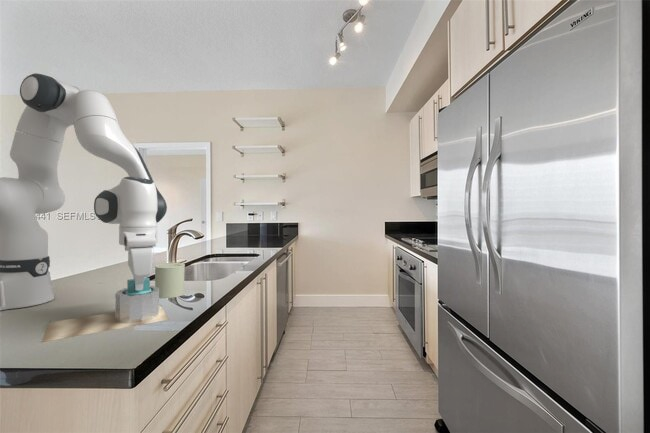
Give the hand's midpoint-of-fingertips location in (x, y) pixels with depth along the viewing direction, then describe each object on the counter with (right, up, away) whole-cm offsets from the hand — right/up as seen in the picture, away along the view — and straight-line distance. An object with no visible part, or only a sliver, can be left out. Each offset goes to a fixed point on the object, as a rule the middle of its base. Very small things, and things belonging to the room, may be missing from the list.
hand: (138, 288), depth 83 cm
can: (-2, -9, +21) cm, 23 cm away
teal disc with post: (0, -2, 0) cm, 2 cm away
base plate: (-5, -9, -3) cm, 11 cm away
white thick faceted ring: (0, -8, 0) cm, 8 cm away
